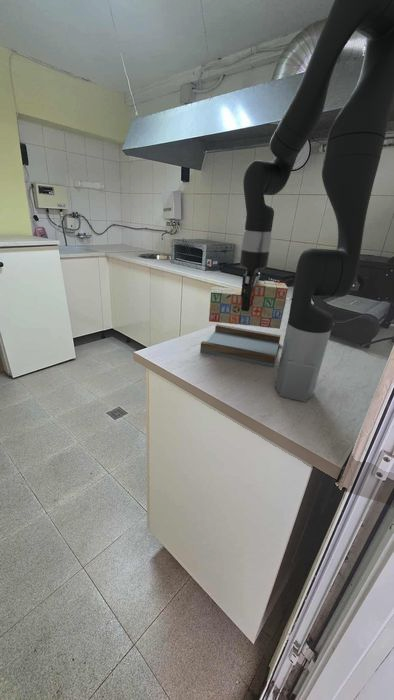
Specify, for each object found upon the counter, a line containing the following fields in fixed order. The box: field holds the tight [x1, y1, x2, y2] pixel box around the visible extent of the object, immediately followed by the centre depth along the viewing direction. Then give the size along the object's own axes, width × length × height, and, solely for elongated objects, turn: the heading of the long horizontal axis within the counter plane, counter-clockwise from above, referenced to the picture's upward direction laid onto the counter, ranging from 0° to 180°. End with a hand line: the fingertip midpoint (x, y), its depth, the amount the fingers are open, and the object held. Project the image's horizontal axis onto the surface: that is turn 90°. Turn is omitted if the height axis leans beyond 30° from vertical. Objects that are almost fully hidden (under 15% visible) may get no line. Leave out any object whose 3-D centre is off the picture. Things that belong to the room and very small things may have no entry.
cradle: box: [199, 323, 282, 368], centre depth 90 cm, size 17×22×3 cm
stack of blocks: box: [208, 280, 289, 330], centre depth 84 cm, size 21×6×12 cm, turn 83°
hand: (247, 306), depth 85 cm, fingers closed on stack of blocks, 7 cm apart
